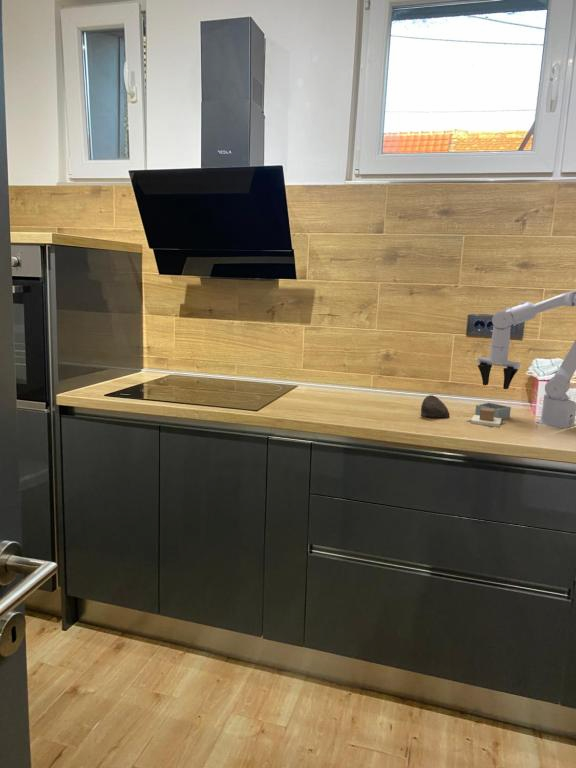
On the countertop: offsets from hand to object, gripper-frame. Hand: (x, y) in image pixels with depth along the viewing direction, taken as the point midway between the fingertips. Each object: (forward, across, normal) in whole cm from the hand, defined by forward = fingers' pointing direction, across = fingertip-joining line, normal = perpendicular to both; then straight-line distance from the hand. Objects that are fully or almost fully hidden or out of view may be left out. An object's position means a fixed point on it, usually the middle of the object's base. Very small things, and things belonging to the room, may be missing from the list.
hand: (495, 386), depth 193 cm
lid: (+10, -5, +13) cm, 17 cm away
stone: (+10, +9, +21) cm, 25 cm away
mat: (+10, -6, +13) cm, 17 cm away
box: (+10, -2, +4) cm, 11 cm away
